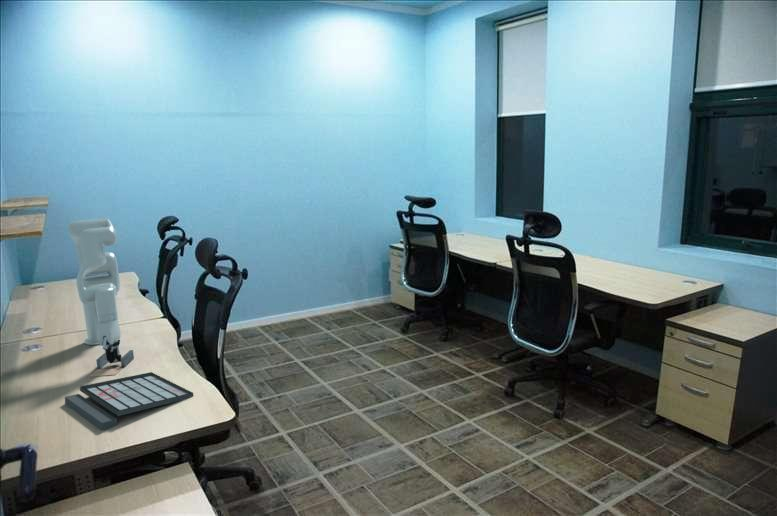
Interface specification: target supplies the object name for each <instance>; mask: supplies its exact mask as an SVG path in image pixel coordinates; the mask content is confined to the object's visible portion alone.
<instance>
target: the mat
mask: <svg viewBox="0 0 777 516" xmlns="http://www.w3.org/2000/svg"><path fill="white" fill-rule="evenodd" d="M122 369H123V368H122V367H120V368H119V367H117V368H103V369H102V368H101V369H96V370H94V372H93V373H91V374H90V375H89V377H90V378H91V377H92V378H93V377H105V376H106V377H109V376H116V375H117V374H118V373H120V371H122Z"/></svg>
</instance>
